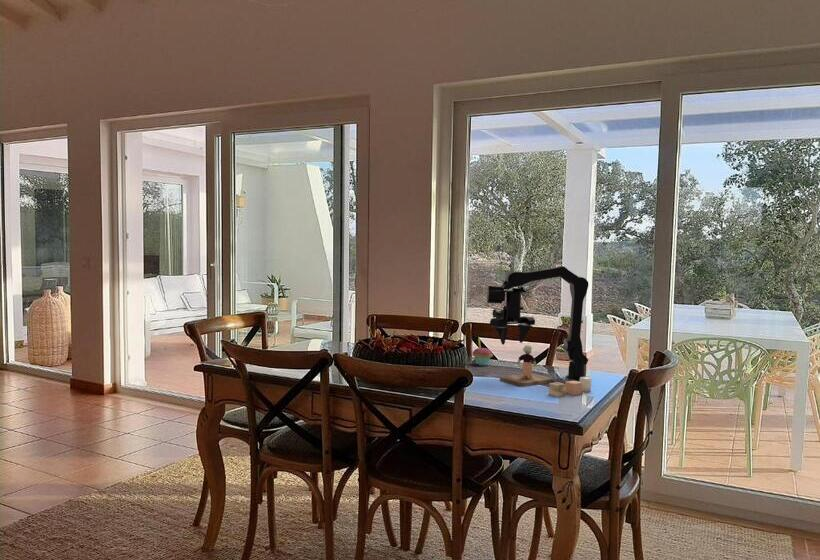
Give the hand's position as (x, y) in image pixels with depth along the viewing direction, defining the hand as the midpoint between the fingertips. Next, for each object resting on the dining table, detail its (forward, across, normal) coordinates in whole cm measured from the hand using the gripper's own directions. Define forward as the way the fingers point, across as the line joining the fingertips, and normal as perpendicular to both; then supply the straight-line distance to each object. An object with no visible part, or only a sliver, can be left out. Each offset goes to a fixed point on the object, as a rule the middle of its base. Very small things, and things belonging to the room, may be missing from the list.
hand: (512, 343), depth 255 cm
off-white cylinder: (+13, -9, +30) cm, 34 cm away
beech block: (+13, +5, +30) cm, 33 cm away
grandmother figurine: (+12, 0, +9) cm, 15 cm away
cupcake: (+13, -5, -24) cm, 28 cm away
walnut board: (+13, 0, +9) cm, 16 cm away
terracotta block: (+13, -2, +31) cm, 34 cm away
